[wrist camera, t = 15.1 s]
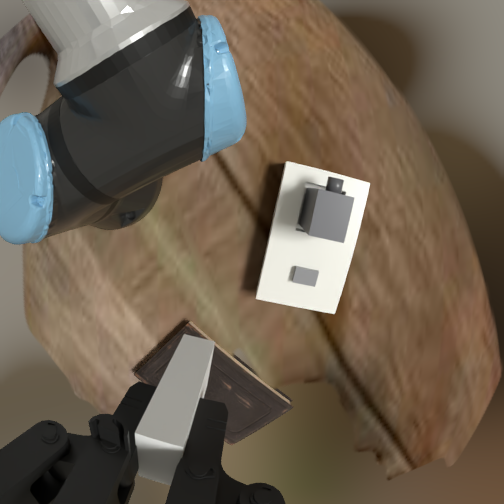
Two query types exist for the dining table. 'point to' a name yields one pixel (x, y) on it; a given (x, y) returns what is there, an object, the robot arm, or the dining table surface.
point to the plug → (327, 211)
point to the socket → (307, 245)
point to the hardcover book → (226, 387)
